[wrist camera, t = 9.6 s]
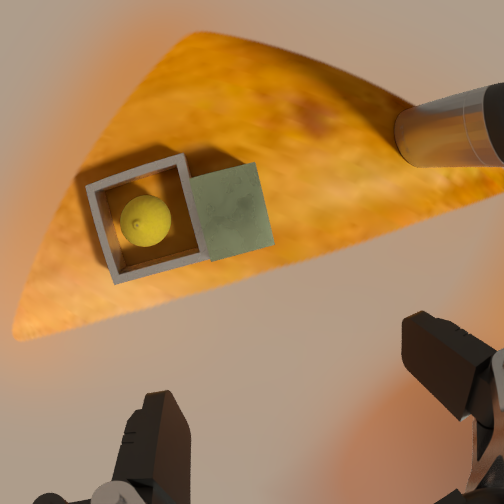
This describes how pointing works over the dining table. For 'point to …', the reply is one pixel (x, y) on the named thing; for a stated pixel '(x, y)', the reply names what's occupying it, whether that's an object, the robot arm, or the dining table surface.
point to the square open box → (191, 216)
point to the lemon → (145, 220)
